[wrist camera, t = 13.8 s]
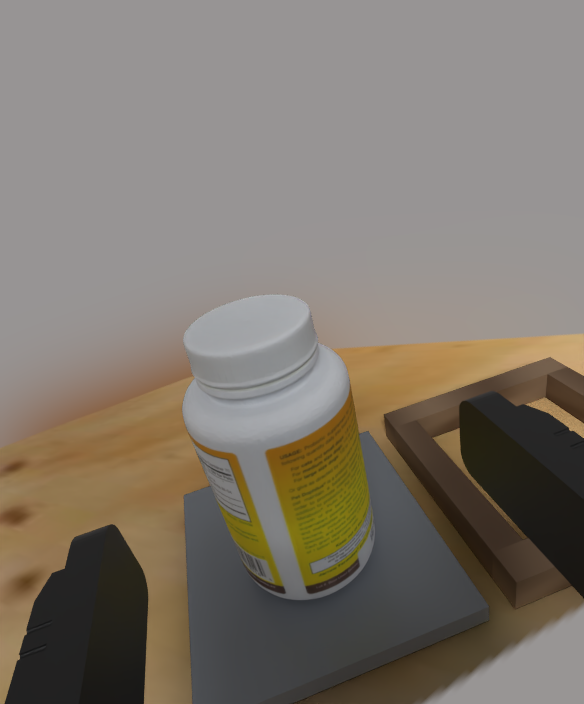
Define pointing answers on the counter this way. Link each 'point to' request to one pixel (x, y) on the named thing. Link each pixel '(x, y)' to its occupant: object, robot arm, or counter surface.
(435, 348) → the counter surface
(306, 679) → the slate coaster
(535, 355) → the counter surface
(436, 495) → the pocket frame
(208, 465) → the supplement bottle
